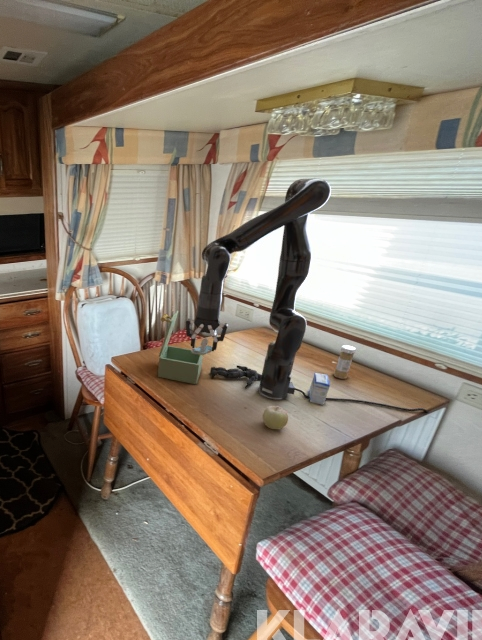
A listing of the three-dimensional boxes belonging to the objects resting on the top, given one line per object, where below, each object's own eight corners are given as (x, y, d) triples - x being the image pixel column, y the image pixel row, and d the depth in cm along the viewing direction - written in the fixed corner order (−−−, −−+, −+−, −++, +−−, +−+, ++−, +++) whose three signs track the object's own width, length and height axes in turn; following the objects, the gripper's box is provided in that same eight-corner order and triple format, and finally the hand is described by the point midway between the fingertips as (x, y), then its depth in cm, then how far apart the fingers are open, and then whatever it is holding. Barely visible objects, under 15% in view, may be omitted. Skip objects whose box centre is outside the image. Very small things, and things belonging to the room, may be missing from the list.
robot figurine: (213, 388, 141) (268, 391, 137) (214, 378, 140) (270, 381, 136) (208, 367, 157) (257, 370, 153) (209, 358, 156) (258, 361, 152)
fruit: (288, 435, 114) (293, 414, 111) (262, 431, 116) (267, 410, 112) (282, 421, 120) (287, 401, 117) (258, 417, 122) (263, 397, 119)
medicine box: (308, 391, 137) (314, 372, 134) (322, 394, 135) (328, 374, 132) (309, 402, 131) (315, 381, 127) (324, 405, 129) (330, 384, 125)
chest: (201, 369, 154) (203, 351, 151) (196, 384, 143) (198, 365, 139) (165, 363, 160) (166, 345, 157) (157, 376, 149) (159, 357, 146)
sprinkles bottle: (345, 375, 149) (355, 346, 143) (347, 380, 145) (356, 350, 140) (332, 373, 151) (341, 344, 145) (333, 377, 147) (342, 348, 142)
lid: (178, 311, 149) (167, 307, 151) (172, 321, 138) (159, 317, 139) (167, 344, 157) (156, 340, 158) (160, 357, 145) (148, 352, 147)
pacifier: (186, 352, 130) (199, 358, 125) (188, 336, 127) (201, 341, 123) (201, 348, 133) (214, 353, 128) (203, 332, 131) (216, 337, 126)
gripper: (185, 305, 121) (181, 349, 128) (231, 310, 116) (223, 356, 122) (189, 299, 127) (184, 342, 134) (232, 303, 122) (225, 348, 128)
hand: (203, 348), depth 128 cm, fingers closed on pacifier, 6 cm apart
